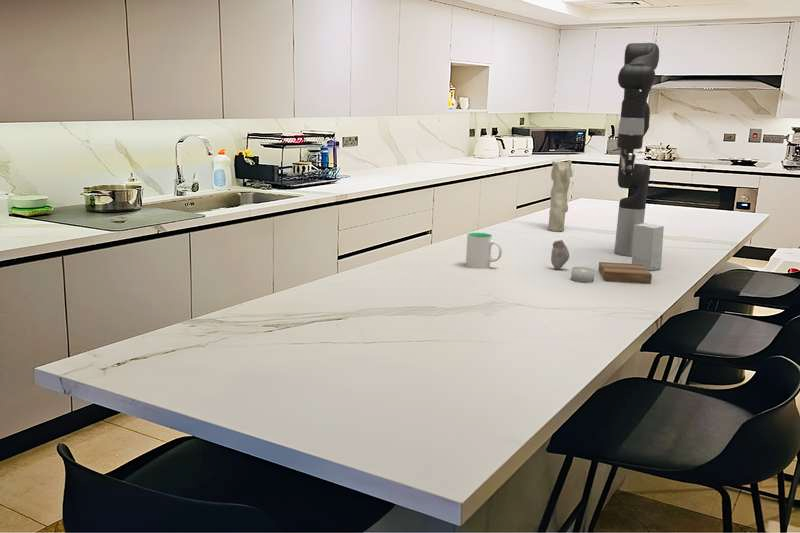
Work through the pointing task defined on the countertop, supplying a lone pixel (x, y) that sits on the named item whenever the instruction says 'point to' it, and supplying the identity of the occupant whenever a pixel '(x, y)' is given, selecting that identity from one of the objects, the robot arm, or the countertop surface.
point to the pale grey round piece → (582, 274)
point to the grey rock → (559, 254)
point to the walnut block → (624, 272)
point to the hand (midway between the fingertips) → (625, 185)
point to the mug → (480, 250)
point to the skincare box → (648, 245)
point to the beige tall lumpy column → (559, 194)
